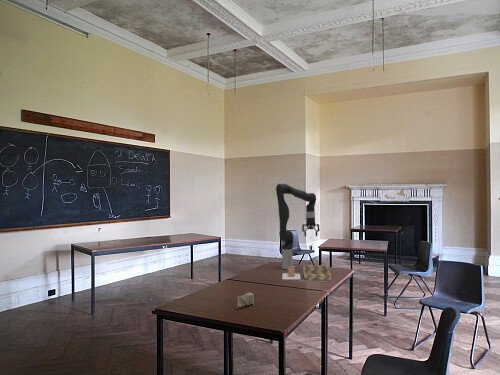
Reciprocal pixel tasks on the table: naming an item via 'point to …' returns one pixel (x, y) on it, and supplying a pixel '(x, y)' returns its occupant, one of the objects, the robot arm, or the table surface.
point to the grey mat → (286, 277)
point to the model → (246, 299)
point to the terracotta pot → (291, 270)
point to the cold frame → (316, 273)
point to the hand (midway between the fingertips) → (310, 236)
